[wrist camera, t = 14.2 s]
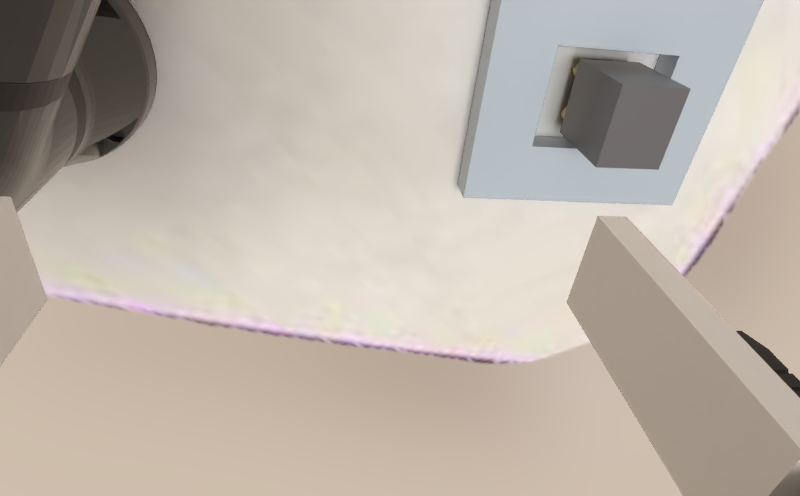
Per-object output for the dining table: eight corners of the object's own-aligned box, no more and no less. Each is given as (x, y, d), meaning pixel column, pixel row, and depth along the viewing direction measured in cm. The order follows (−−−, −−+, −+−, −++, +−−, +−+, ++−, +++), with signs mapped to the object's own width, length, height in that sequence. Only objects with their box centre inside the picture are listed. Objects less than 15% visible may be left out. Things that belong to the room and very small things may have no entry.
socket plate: (457, 184, 46) (463, 197, 44) (498, -42, 37) (508, -39, 35) (657, 192, 49) (672, 205, 47) (745, -14, 40) (768, -10, 38)
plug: (553, 125, 44) (595, 167, 37) (572, 53, 41) (623, 84, 34) (606, 128, 45) (658, 169, 38) (629, 58, 42) (690, 88, 35)
